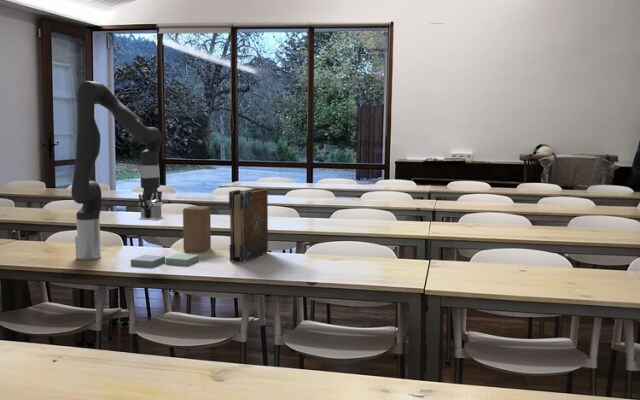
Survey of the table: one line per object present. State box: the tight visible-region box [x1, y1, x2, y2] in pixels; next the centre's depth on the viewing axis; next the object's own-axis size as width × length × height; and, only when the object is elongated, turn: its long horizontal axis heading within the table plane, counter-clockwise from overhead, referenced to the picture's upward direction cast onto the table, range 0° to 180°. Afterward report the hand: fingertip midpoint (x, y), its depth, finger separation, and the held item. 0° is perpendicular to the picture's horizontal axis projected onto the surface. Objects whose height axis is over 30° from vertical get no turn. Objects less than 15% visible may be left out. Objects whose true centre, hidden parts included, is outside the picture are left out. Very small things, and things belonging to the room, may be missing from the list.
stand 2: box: [165, 253, 200, 267], centre depth 253 cm, size 10×10×2 cm
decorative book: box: [228, 187, 269, 264], centre depth 263 cm, size 23×7×30 cm, turn 157°
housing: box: [138, 201, 164, 222], centre depth 247 cm, size 8×5×7 cm, turn 74°
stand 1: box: [130, 254, 166, 268], centre depth 250 cm, size 10×10×2 cm
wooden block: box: [182, 205, 212, 253], centre depth 278 cm, size 10×10×20 cm
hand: (151, 217), depth 248 cm, fingers closed on housing, 5 cm apart
